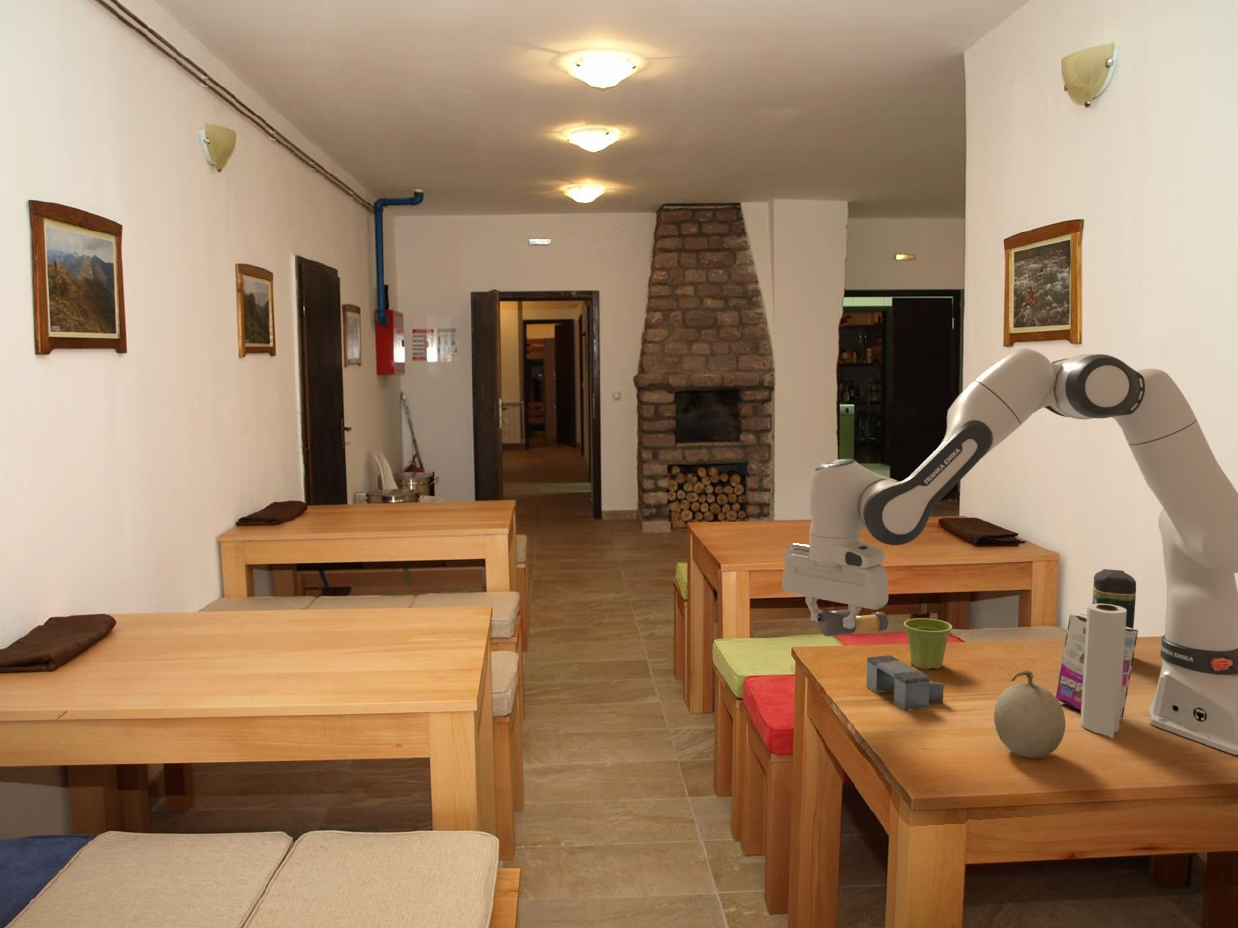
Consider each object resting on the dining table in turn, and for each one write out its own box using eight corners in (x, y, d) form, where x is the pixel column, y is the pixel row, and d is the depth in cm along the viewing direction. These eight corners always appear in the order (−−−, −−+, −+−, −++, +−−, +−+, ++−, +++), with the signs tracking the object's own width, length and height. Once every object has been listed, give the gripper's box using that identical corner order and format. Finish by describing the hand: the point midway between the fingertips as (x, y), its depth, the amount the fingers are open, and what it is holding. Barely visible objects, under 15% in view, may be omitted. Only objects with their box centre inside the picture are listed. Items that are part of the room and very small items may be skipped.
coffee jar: (1134, 666, 197) (1140, 578, 194) (1091, 662, 199) (1096, 575, 197) (1127, 652, 206) (1133, 568, 203) (1087, 648, 208) (1091, 565, 206)
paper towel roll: (1085, 717, 170) (1092, 600, 167) (1122, 726, 166) (1130, 606, 163) (1074, 730, 164) (1081, 608, 161) (1113, 739, 160) (1120, 615, 158)
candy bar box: (1124, 721, 168) (1140, 629, 167) (1103, 720, 166) (1119, 628, 165) (1074, 699, 179) (1089, 613, 177) (1053, 699, 177) (1068, 612, 176)
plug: (874, 625, 181) (877, 603, 180) (888, 634, 177) (891, 611, 176) (818, 630, 176) (820, 608, 175) (831, 640, 172) (833, 617, 171)
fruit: (1040, 738, 161) (1045, 651, 159) (1075, 767, 150) (1081, 675, 148) (979, 739, 161) (983, 652, 159) (1009, 768, 149) (1014, 676, 147)
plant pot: (941, 676, 191) (943, 633, 190) (895, 666, 197) (897, 625, 196) (956, 663, 199) (958, 623, 198) (912, 655, 204) (913, 615, 203)
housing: (948, 705, 176) (949, 674, 175) (904, 710, 173) (905, 679, 172) (907, 681, 188) (908, 653, 187) (866, 686, 185) (867, 657, 185)
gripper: (775, 544, 177) (775, 616, 179) (875, 560, 163) (873, 639, 165) (795, 539, 182) (794, 609, 184) (893, 554, 168) (891, 631, 169)
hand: (832, 623), depth 174 cm, fingers closed on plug, 5 cm apart
